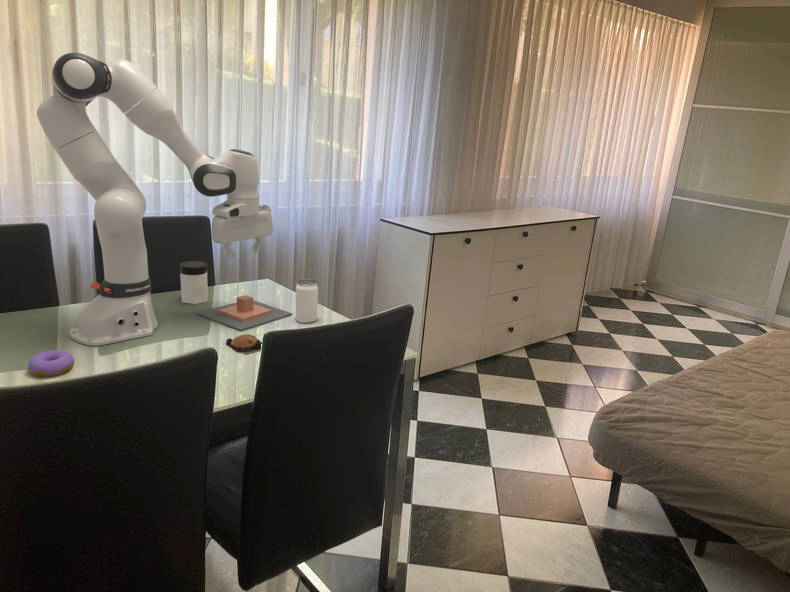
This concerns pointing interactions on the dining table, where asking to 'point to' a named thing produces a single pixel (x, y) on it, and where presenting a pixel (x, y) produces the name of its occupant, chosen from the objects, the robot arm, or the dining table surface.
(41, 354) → the donut
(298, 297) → the can
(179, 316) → the dining table surface
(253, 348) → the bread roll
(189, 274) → the jar
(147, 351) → the dining table surface
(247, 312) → the lid
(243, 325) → the mat
